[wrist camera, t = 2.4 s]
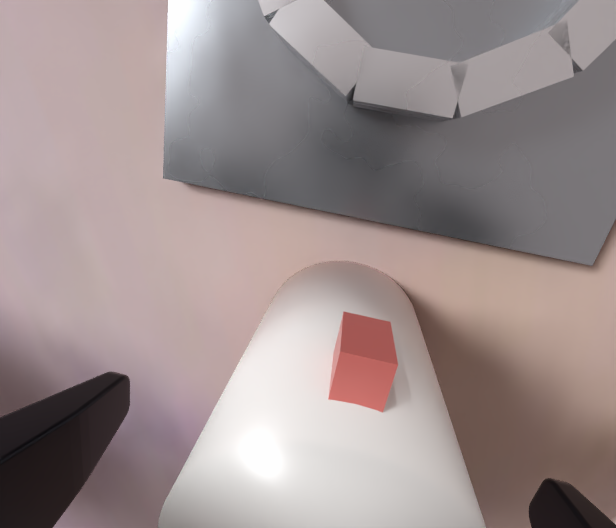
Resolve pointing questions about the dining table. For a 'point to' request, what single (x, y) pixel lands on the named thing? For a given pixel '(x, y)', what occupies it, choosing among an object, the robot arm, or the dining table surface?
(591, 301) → the dining table surface
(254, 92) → the plate
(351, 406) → the cylinder
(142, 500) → the dining table surface
